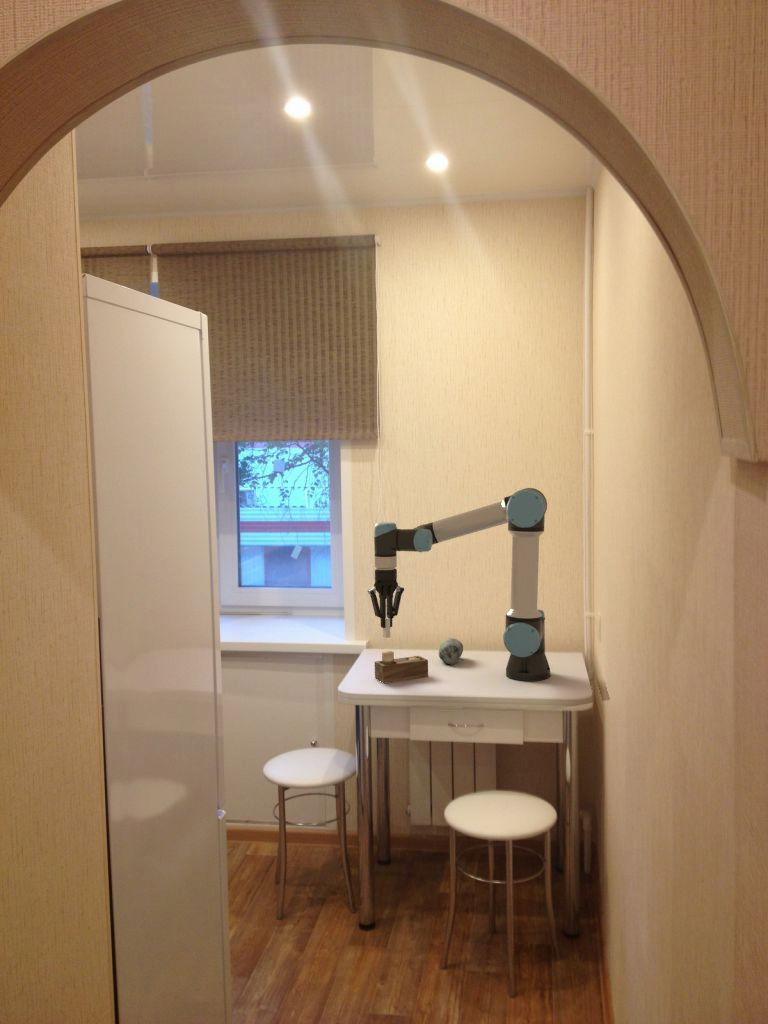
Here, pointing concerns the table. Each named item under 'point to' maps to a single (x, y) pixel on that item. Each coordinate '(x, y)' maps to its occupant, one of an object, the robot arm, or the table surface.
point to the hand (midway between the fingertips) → (386, 636)
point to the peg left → (387, 657)
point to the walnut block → (401, 669)
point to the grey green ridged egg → (451, 651)
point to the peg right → (414, 659)
